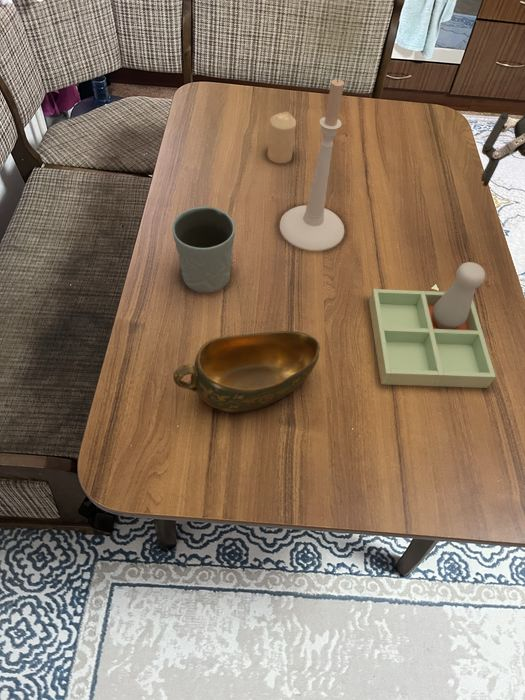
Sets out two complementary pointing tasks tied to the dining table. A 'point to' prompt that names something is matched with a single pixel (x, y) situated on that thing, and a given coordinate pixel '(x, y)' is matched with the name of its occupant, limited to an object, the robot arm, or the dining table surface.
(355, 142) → the dining table surface
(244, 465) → the dining table surface
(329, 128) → the candlestick
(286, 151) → the candle
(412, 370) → the grid
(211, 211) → the grey green cup
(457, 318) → the salt shaker
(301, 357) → the creamer
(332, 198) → the dining table surface
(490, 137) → the robot arm
